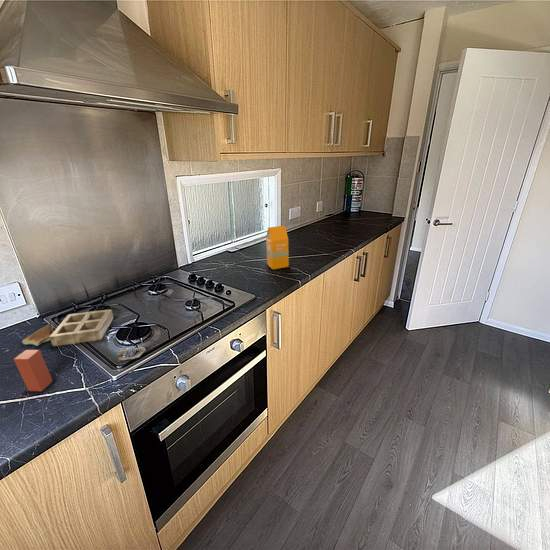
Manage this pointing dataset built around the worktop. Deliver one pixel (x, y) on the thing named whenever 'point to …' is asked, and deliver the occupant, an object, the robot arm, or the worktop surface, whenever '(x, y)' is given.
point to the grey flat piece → (130, 353)
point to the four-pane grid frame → (82, 327)
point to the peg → (33, 370)
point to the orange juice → (277, 247)
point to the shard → (39, 335)
